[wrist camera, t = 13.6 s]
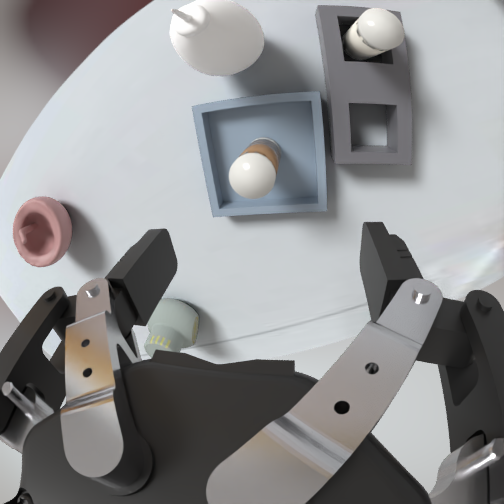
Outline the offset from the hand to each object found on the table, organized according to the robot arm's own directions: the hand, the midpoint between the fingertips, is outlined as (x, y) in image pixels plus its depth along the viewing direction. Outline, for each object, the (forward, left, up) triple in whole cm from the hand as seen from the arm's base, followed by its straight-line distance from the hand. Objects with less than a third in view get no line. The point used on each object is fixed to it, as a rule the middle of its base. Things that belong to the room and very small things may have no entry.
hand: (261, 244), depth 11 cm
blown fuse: (+1, -3, -23) cm, 24 cm away
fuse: (-12, +10, -24) cm, 29 cm away
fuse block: (-7, +10, -24) cm, 27 cm away
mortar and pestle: (+6, -41, -24) cm, 48 cm away
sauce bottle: (-12, -4, -24) cm, 28 cm away
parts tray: (+1, -3, -24) cm, 24 cm away
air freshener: (+28, -22, -24) cm, 43 cm away
